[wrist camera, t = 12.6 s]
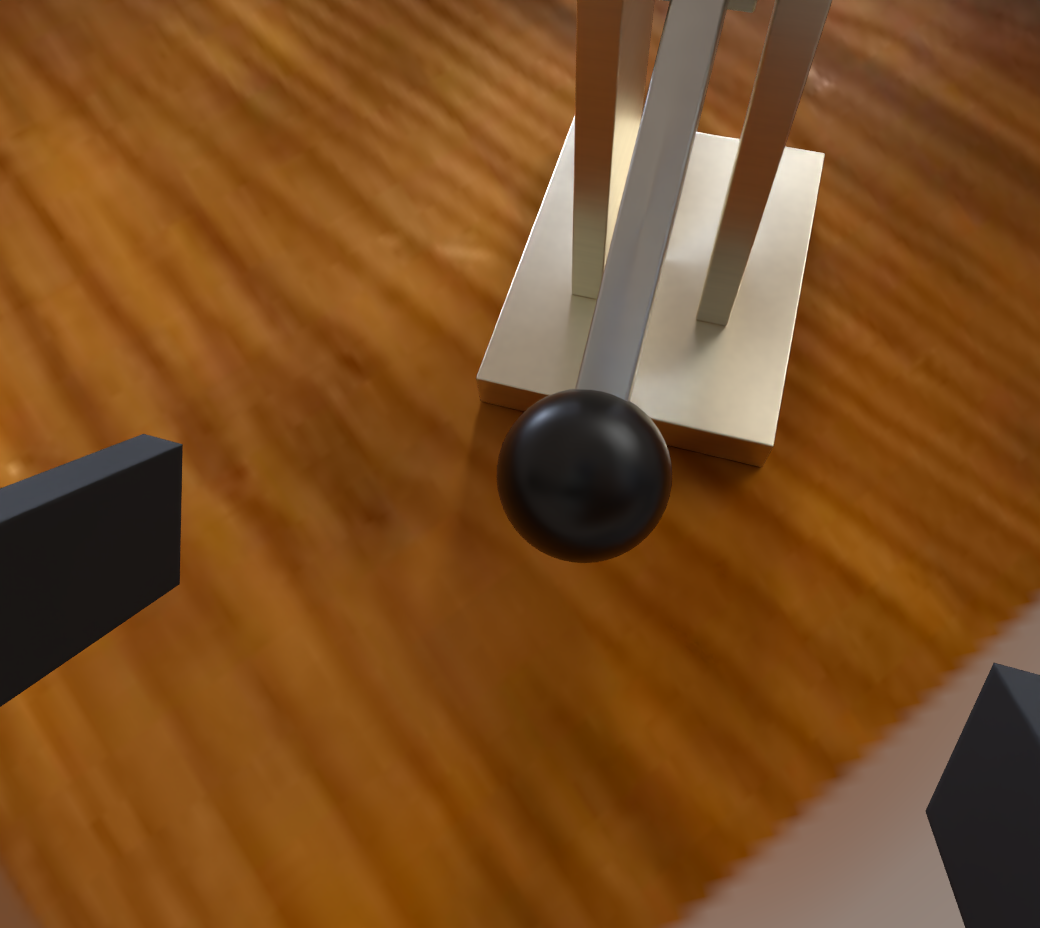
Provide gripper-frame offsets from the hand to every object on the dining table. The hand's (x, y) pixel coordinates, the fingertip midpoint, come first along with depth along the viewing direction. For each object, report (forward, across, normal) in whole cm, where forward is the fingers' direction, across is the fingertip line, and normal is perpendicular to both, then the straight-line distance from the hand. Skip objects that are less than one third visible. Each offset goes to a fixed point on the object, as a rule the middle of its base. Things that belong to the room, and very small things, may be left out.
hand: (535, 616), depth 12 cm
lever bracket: (+17, 0, +4) cm, 17 cm away
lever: (+8, 0, +6) cm, 10 cm away
